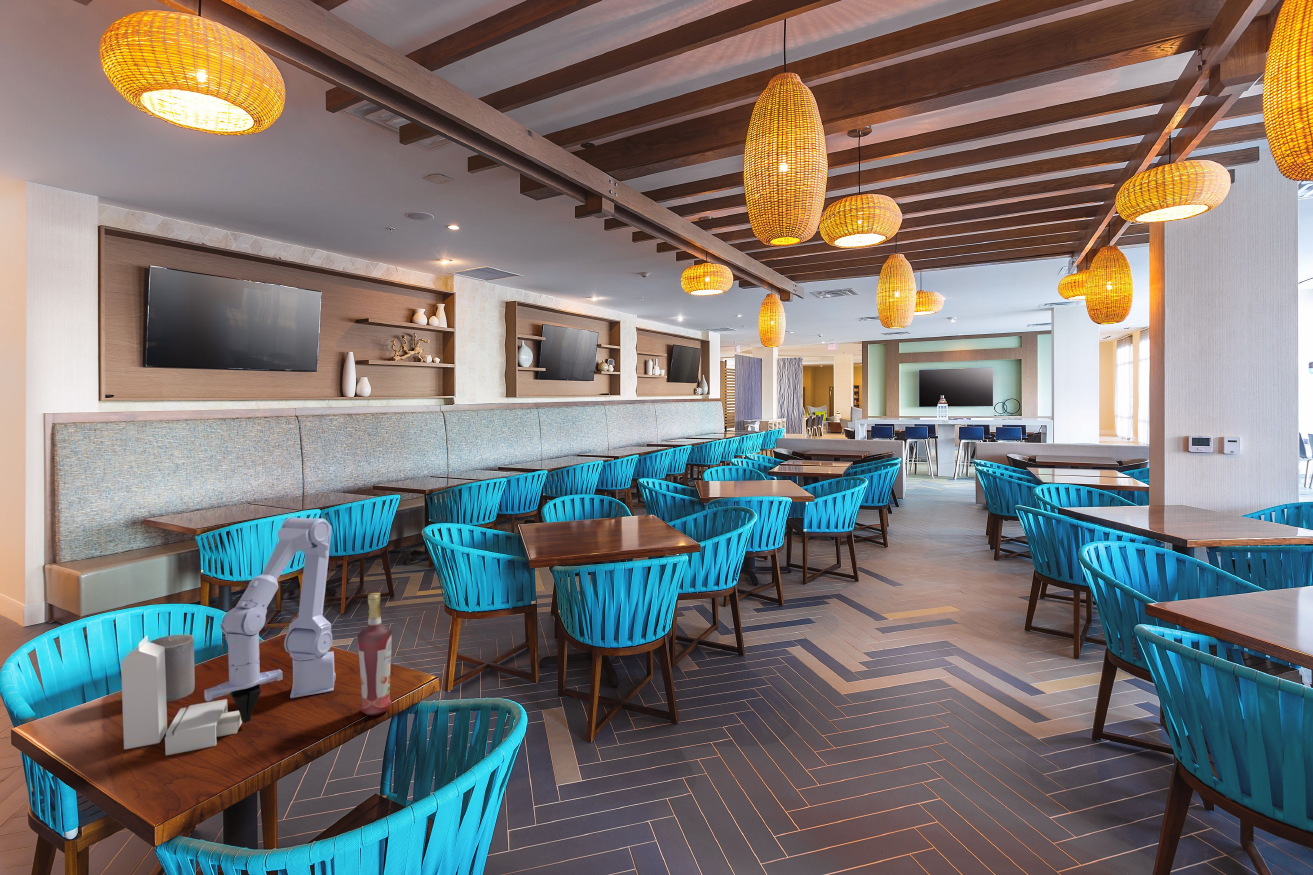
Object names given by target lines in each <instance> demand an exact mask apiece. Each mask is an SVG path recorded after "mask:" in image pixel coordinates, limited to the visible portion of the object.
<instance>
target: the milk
mask: <svg viewBox="0 0 1313 875" xmlns="http://www.w3.org/2000/svg"><path fill="white" fill-rule="evenodd" d="M148 638H149V636H148V635H146V636H145V637H143V639H141V641H140V642H139V643H138V645H137V647H136V648H135V649H132V650H130V652H129V653H127V655H126V656H124V658H123V659H122V660H121V661H120V668H121V670H120V671H121V673H120V674H121V697H122V698H121V699H122V700H121V701H122V725H123V727H122V728H123V730H122V731H123V750H129V749H135V748H140V747H144V746H146V747H147V746H152V745H156V744H160V743H161V741H162V739H163V738H164V737H165V735H166V732H167V730H168V712H167V710H168V709H167V707H168V706H167V702H166V674H165V647H163V646H160V645H157V644H154V643H151V642H150V641H149V639H148Z"/></svg>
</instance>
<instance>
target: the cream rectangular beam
mask: <svg viewBox="0 0 1313 875" xmlns="http://www.w3.org/2000/svg"><path fill="white" fill-rule="evenodd" d="M242 724H243V722H242V721H241V716H240V713H239V710H235V711H228V712H227V713H222V715H221V717H220V719H219V721H218V724H217V726H216V738H218V737H223V736H229V735H233V734H234V735H235V734H237V733H238V731H239V729H240V727H241V725H242Z"/></svg>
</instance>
